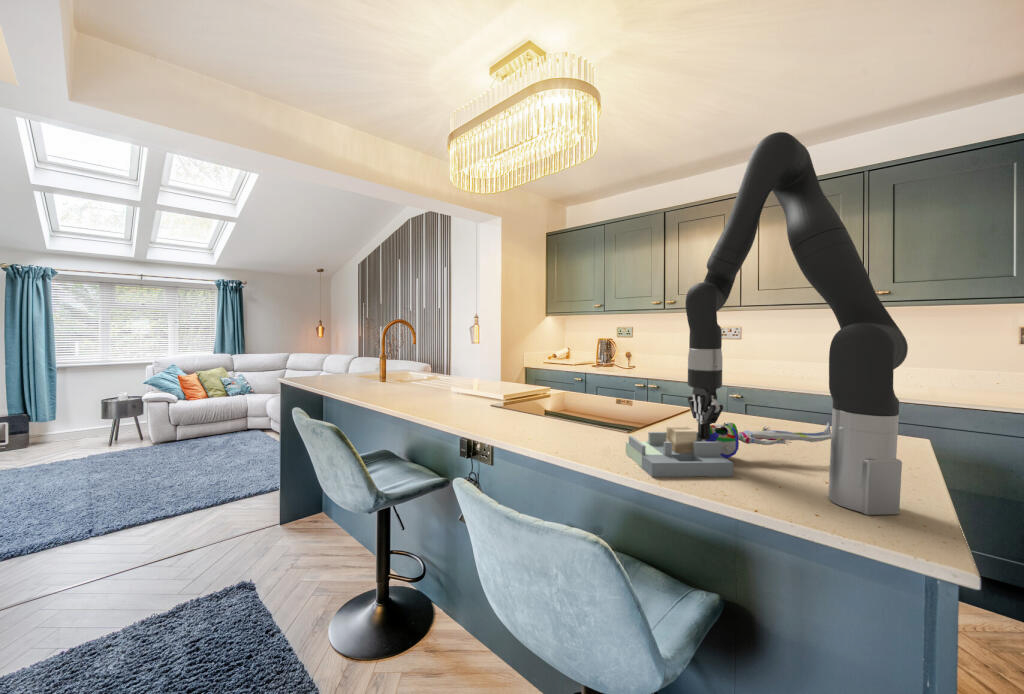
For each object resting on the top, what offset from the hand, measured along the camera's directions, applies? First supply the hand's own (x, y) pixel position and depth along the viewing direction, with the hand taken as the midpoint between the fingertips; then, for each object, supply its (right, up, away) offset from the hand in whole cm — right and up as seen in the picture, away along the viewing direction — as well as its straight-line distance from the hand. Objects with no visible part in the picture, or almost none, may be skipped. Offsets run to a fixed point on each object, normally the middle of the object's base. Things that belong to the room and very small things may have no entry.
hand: (703, 438), depth 101 cm
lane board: (-8, -5, -2) cm, 10 cm away
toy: (+16, -3, 0) cm, 16 cm away
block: (-6, -2, -1) cm, 6 cm away
